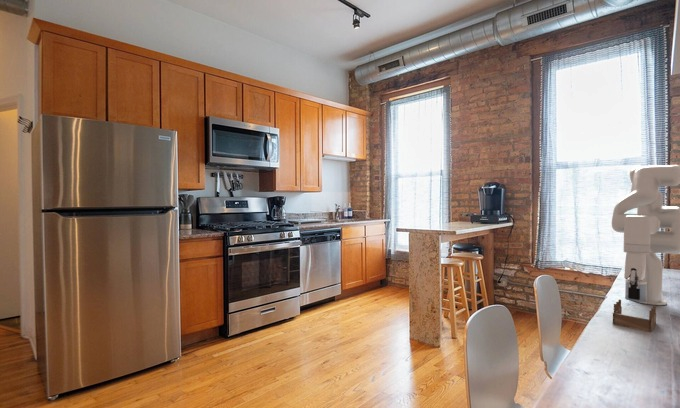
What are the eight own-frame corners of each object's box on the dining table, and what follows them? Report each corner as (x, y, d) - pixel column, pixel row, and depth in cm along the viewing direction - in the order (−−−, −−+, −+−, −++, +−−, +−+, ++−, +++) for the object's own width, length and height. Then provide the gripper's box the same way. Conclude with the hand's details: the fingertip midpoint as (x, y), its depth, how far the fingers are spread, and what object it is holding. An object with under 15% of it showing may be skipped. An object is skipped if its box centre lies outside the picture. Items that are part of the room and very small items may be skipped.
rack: (619, 316, 138) (619, 298, 137) (656, 323, 130) (656, 304, 129) (612, 323, 130) (612, 305, 129) (651, 332, 122) (651, 312, 121)
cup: (626, 296, 135) (627, 278, 135) (647, 300, 130) (648, 281, 130) (623, 299, 131) (623, 280, 131) (645, 303, 126) (645, 283, 126)
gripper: (628, 245, 139) (627, 291, 139) (618, 249, 127) (617, 299, 128) (653, 247, 133) (652, 295, 133) (646, 252, 122) (645, 304, 122)
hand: (635, 296), depth 131 cm, fingers closed on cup, 6 cm apart
